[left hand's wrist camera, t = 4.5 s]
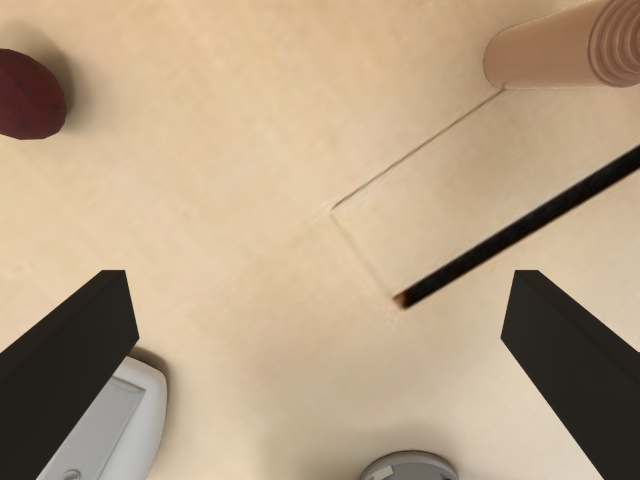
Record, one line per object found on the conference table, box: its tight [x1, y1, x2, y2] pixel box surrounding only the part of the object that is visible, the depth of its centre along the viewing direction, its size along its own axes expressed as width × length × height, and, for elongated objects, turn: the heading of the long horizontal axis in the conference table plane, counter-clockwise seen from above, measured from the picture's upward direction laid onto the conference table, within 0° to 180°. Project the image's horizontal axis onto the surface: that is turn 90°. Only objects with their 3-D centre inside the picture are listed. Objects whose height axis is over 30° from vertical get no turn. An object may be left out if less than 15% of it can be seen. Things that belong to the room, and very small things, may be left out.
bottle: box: [483, 0, 640, 89], centre depth 26 cm, size 5×5×19 cm
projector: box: [36, 356, 167, 480], centre depth 45 cm, size 22×23×15 cm
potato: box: [0, 49, 66, 140], centre depth 33 cm, size 7×8×7 cm
